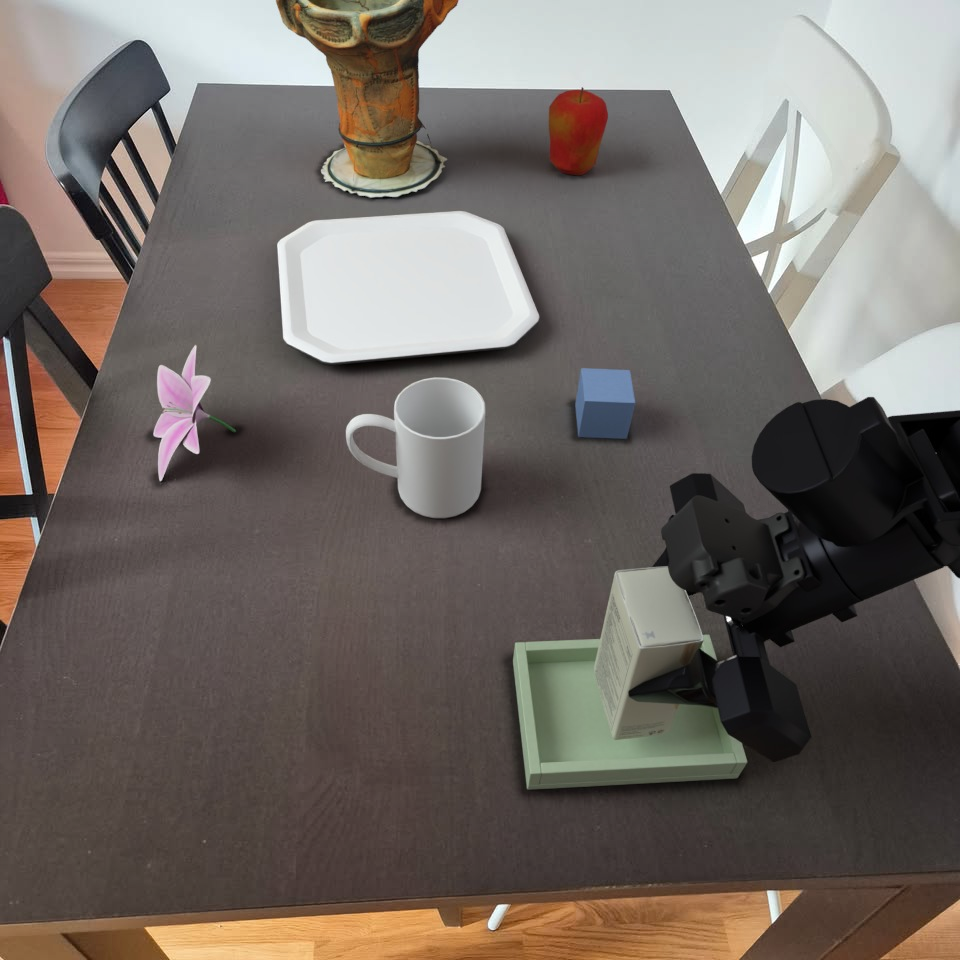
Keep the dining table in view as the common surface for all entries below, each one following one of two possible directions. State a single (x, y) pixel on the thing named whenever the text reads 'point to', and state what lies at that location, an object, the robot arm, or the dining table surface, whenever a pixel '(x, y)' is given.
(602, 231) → the dining table surface
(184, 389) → the lily
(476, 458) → the mug
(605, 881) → the dining table surface
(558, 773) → the sage tray
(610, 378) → the blue block
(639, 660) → the cosmetic box
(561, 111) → the apple
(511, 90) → the dining table surface
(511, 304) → the plate
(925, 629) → the dining table surface
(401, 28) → the decorative vase
